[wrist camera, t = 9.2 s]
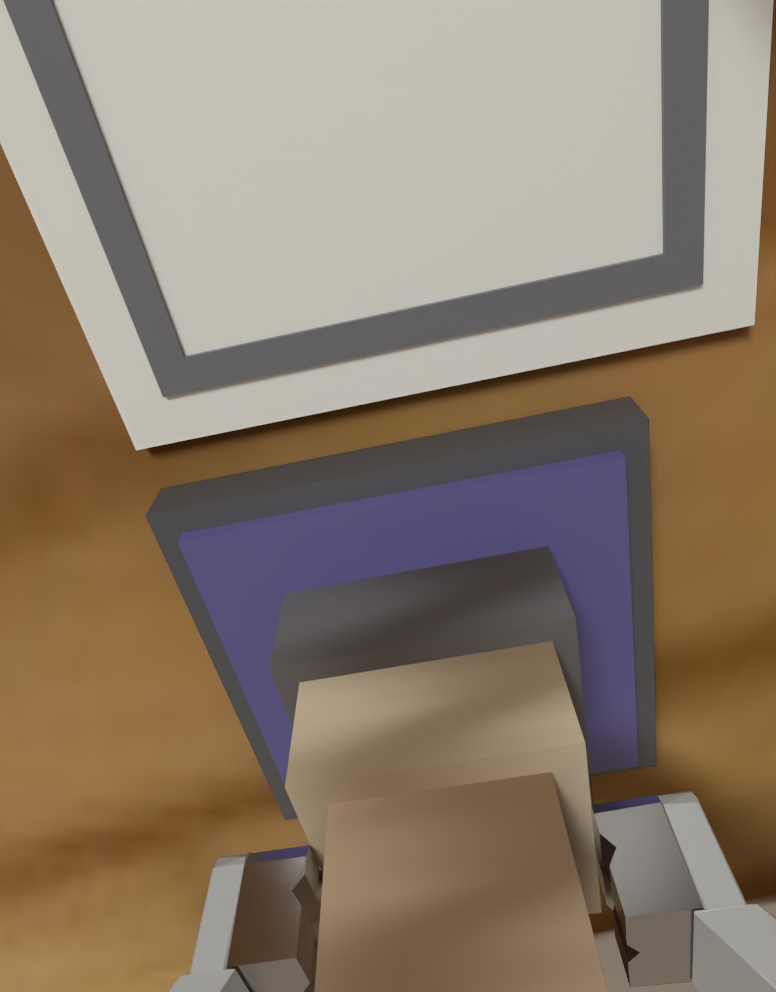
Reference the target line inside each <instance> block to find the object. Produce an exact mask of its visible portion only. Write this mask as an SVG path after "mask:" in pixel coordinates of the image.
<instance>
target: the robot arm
mask: <svg viewBox="0 0 776 992" xmlns="http://www.w3.org/2000/svg"><path fill="white" fill-rule="evenodd" d="M590 808H591V819H592V828H593V832H594V838H595V845H594V849H595V858H596V867H597V872H598V875H599V879H600V883H601V887H602V891H603V894H604V898H605V902H606V904H607V905H608V906H609V907H610V908H611V909H612V910H613V917H614V928H615V937H616V940H617V944H618V947H619V951H620V954H621V957H622V961H623V964H624V968H625V971H626V974H627V978H628V982H629V985H630V987H635V986H647V985H658V984H671V983H682V982H692V986H693V987H694V988H695V989H696V990H697V991H698V992H776V918H775V917H774V916H773V915H771V914H770V913H769V912H768V911H767V910H765V909H764V908H763V907H762V906H761V905H759V904H758V903H754V904H747V903H746V901H745V899H744V897H743V895H742V893H741V890H740V888H739V886H738V884H737V882H736V880H735V878H734V875H733V873H732V871H731V869H730V867H729V865H728V862H727V860H726V858H725V856H724V854H723V852H722V849H721V847H720V845H719V843H718V841H717V839H716V837H715V834H714V832H713V830H712V828H711V826H710V824H709V821H708V819H707V817H706V815H705V813H704V811H703V808H702V806H701V804H700V802H699V800H698V798H697V797H696V796H695V795H694V794H693V793H692V792H691V791H683V792H677V793H670V794H664V795H657V796H655V795H651V796H645V797H639V798H632V799H626V800H620V801H614V802H607V803H601V804H595V805H591V806H590ZM322 883H323V873H322V871H321V870H319V863H318V861H317V859H316V857H315V855H314V852H313V850H312V848H311V846H310V845H309V846H302V847H294V848H287V849H279V850H272V851H265V852H257V853H246V854H239V855H232V856H226V857H219V858H218V860H217V862H216V864H215V866H214V868H213V870H212V874H211V879H210V883H209V888H208V892H207V897H206V901H205V906H204V910H203V915H202V919H201V924H200V928H199V933H198V937H197V942H196V946H195V951H194V955H193V960H192V964H191V969H190V973H189V974H183V975H180V976H179V977H178V979H177V980H176V981H175V983H174V984H173V985H172V987H171V988H170V989H169V991H168V992H315V979H316V965H317V951H318V938H319V924H320V910H321V896H322Z"/></svg>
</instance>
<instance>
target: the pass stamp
mask: <svg viewBox="0 0 776 992" xmlns="http://www.w3.org/2000/svg"><path fill="white" fill-rule="evenodd" d="M269 670H270V673H271V675H272V678H273V680H274V683H275V685H276V688H277V690H278V692H279V695H280V697H281V700H282V702H283V705H284V707H285V710H286V712H287V715H288V717H289V720H290V722H291V724H292V727H293V732H292V739H291V746H290V753H289V761H288V768H287V775H286V782H285V789H286V791H287V794H288V796H289V798H290V800H291V803H292V805H293V807H294V810H295V812H296V814H297V816H298V819H299V821H300V823H301V825H302V828H303V830H304V832H305V834H306V837H307V839H308V841H309V843H310V846H311V848H312V850H313V852H314V855H315V857H316V859H317V861H318V863H319V866H320V868H321V871H322V873H323V883H322V896H321V910H320V924H319V938H318V951H317V965H316V979H315V992H608V989H607V985H606V981H605V977H604V973H603V969H602V966H601V962H600V958H599V954H598V950H597V946H596V942H595V939H594V935H593V931H592V927H591V923H590V919H589V915H588V914H595V913H602V910H601V900H600V890H599V879H598V872H597V867H596V858H595V849H594V845H595V838H594V832H593V828H592V819H591V808H590V806H591V805H593V796H592V785H591V775H590V764H589V753H588V743H587V732H586V722H585V711H584V700H583V690H582V679H581V669H580V658H579V647H578V637H577V626H576V617H575V615H574V612H573V609H572V607H571V604H570V602H569V599H568V596H567V594H566V591H565V589H564V586H563V583H562V581H561V578H560V576H559V573H558V570H557V568H556V565H555V563H554V560H553V557H552V555H551V552H550V549H549V547H548V546H546V547H540V548H535V549H529V550H523V551H518V552H512V553H506V554H501V555H495V556H490V557H484V558H478V559H473V560H467V561H462V562H456V563H450V564H445V565H439V566H433V567H428V568H422V569H417V570H411V571H405V572H400V573H394V574H389V575H383V576H377V577H372V578H366V579H360V580H355V581H349V582H344V583H338V584H332V585H327V586H321V587H315V588H310V589H304V590H299V591H293V592H287V593H284V595H283V600H282V605H281V611H280V616H279V621H278V626H277V631H276V636H275V641H274V646H273V652H272V657H271V662H270V667H269Z"/></svg>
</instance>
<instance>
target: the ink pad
mask: <svg viewBox="0 0 776 992" xmlns="http://www.w3.org/2000/svg"><path fill="white" fill-rule="evenodd" d="M146 518H147V520H148V522H149V524H150V526H151V529H152V531H153V533H154V535H155V537H156V539H157V542H158V544H159V546H160V548H161V550H162V552H163V555H164V557H165V559H166V561H167V563H168V566H169V568H170V570H171V572H172V574H173V576H174V579H175V581H176V583H177V585H178V587H179V590H180V592H181V594H182V596H183V598H184V600H185V603H186V605H187V607H188V609H189V611H190V614H191V616H192V618H193V620H194V622H195V624H196V627H197V629H198V631H199V633H200V635H201V637H202V640H203V642H204V644H205V646H206V648H207V651H208V653H209V655H210V657H211V659H212V661H213V664H214V666H215V668H216V670H217V672H218V675H219V677H220V679H221V681H222V683H223V685H224V688H225V690H226V692H227V694H228V696H229V699H230V701H231V703H232V705H233V707H234V709H235V712H236V714H237V716H238V718H239V720H240V722H241V725H242V727H243V729H244V731H245V733H246V736H247V738H248V740H249V742H250V744H251V746H252V749H253V751H254V753H255V755H256V757H257V760H258V762H259V764H260V766H261V768H262V770H263V773H264V775H265V777H266V779H267V781H268V784H269V786H270V788H271V790H272V792H273V794H274V797H275V799H276V801H277V803H278V805H279V807H280V810H281V812H282V814H283V816H284V818H285V820H289V819H296V818H298V816H297V814H296V812H295V810H294V807H293V805H292V803H291V800H290V798H289V796H288V794H287V791H286V789H285V782H286V775H287V768H288V761H289V753H290V746H291V739H292V732H293V727H292V724H291V722H290V720H289V717H288V715H287V712H286V710H285V707H284V705H283V702H282V700H281V697H280V695H279V692H278V690H277V688H276V685H275V683H274V680H273V678H272V675H271V673H270V670H269V667H270V662H271V657H272V652H273V646H274V641H275V636H276V631H277V626H278V621H279V616H280V611H281V605H282V600H283V595H284V593H287V592H293V591H299V590H304V589H310V588H315V587H321V586H327V585H332V584H338V583H344V582H349V581H355V580H360V579H366V578H372V577H377V576H383V575H389V574H394V573H400V572H405V571H411V570H417V569H422V568H428V567H433V566H439V565H445V564H450V563H456V562H462V561H467V560H473V559H478V558H484V557H490V556H495V555H501V554H506V553H512V552H518V551H523V550H529V549H535V548H540V547H546V546H548V547H549V549H550V552H551V555H552V557H553V560H554V563H555V565H556V568H557V570H558V573H559V576H560V578H561V581H562V583H563V586H564V589H565V591H566V594H567V596H568V599H569V602H570V604H571V607H572V609H573V612H574V615H575V617H576V626H577V637H578V647H579V658H580V669H581V679H582V690H583V700H584V711H585V722H586V732H587V743H588V753H589V764H590V775H598V774H605V773H612V772H619V771H626V770H632V769H639V768H646V767H653V766H656V729H655V681H654V633H653V585H652V537H651V489H650V441H649V418H648V417H647V416H646V415H645V413H644V412H643V411H642V410H641V409H640V408H639V406H638V405H637V404H636V403H635V402H634V401H633V400H632V398H631V397H626V398H621V399H616V400H611V401H606V402H601V403H596V404H590V405H585V406H580V407H575V408H570V409H565V410H560V411H555V412H550V413H545V414H540V415H534V416H529V417H524V418H519V419H514V420H509V421H504V422H499V423H494V424H489V425H484V426H478V427H473V428H468V429H463V430H458V431H453V432H448V433H443V434H438V435H433V436H428V437H422V438H417V439H412V440H407V441H402V442H397V443H392V444H387V445H382V446H377V447H372V448H367V449H361V450H356V451H351V452H346V453H341V454H336V455H331V456H326V457H321V458H316V459H311V460H305V461H300V462H295V463H290V464H285V465H280V466H275V467H270V468H265V469H260V470H255V471H249V472H244V473H239V474H234V475H229V476H224V477H219V478H214V479H209V480H204V481H199V482H193V483H188V484H183V485H178V486H173V487H168V488H163V489H161V490H160V492H159V493H158V495H157V497H156V499H155V500H154V502H153V504H152V506H151V507H150V509H149V511H148V513H147V514H146Z"/></svg>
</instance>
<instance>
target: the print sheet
mask: <svg viewBox="0 0 776 992" xmlns="http://www.w3.org/2000/svg"><path fill="white" fill-rule="evenodd" d="M773 1H774V0H0V143H1V146H2V148H3V150H4V152H5V155H6V157H7V159H8V161H9V164H10V166H11V168H12V170H13V173H14V175H15V177H16V179H17V182H18V184H19V186H20V189H21V191H22V193H23V195H24V198H25V200H26V202H27V204H28V207H29V209H30V211H31V213H32V216H33V218H34V220H35V222H36V225H37V227H38V229H39V232H40V234H41V236H42V238H43V241H44V243H45V245H46V247H47V250H48V252H49V254H50V256H51V259H52V261H53V263H54V265H55V268H56V270H57V272H58V274H59V277H60V279H61V281H62V284H63V286H64V288H65V290H66V293H67V295H68V297H69V299H70V302H71V304H72V306H73V308H74V311H75V313H76V315H77V317H78V320H79V322H80V324H81V327H82V329H83V331H84V333H85V336H86V338H87V340H88V342H89V345H90V347H91V349H92V351H93V354H94V356H95V358H96V360H97V363H98V365H99V367H100V370H101V372H102V374H103V376H104V379H105V381H106V383H107V385H108V388H109V390H110V392H111V394H112V397H113V399H114V401H115V403H116V406H117V408H118V410H119V413H120V415H121V417H122V419H123V422H124V424H125V426H126V428H127V431H128V433H129V435H130V437H131V440H132V442H133V444H134V446H135V449H136V450H140V449H145V448H150V447H155V446H160V445H165V444H170V443H175V442H180V441H185V440H190V439H195V438H200V437H205V436H209V435H214V434H219V433H224V432H229V431H234V430H239V429H244V428H249V427H254V426H259V425H264V424H269V423H274V422H279V421H283V420H288V419H293V418H298V417H303V416H308V415H313V414H318V413H323V412H328V411H333V410H338V409H343V408H348V407H352V406H357V405H362V404H367V403H372V402H377V401H382V400H387V399H392V398H397V397H402V396H407V395H412V394H417V393H421V392H426V391H431V390H436V389H441V388H446V387H451V386H456V385H461V384H466V383H471V382H476V381H481V380H486V379H491V378H495V377H500V376H505V375H510V374H515V373H520V372H525V371H530V370H535V369H540V368H545V367H550V366H555V365H560V364H564V363H569V362H574V361H579V360H584V359H589V358H594V357H599V356H604V355H609V354H614V353H619V352H624V351H629V350H633V349H638V348H643V347H648V346H653V345H658V344H663V343H668V342H673V341H678V340H683V339H688V338H693V337H698V336H702V335H707V334H712V333H717V332H722V331H727V330H732V329H737V328H742V327H747V326H752V325H754V323H755V306H756V289H757V272H758V255H759V238H760V221H761V204H762V187H763V170H764V153H765V137H766V120H767V103H768V86H769V69H770V52H771V35H772V18H773Z"/></svg>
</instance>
